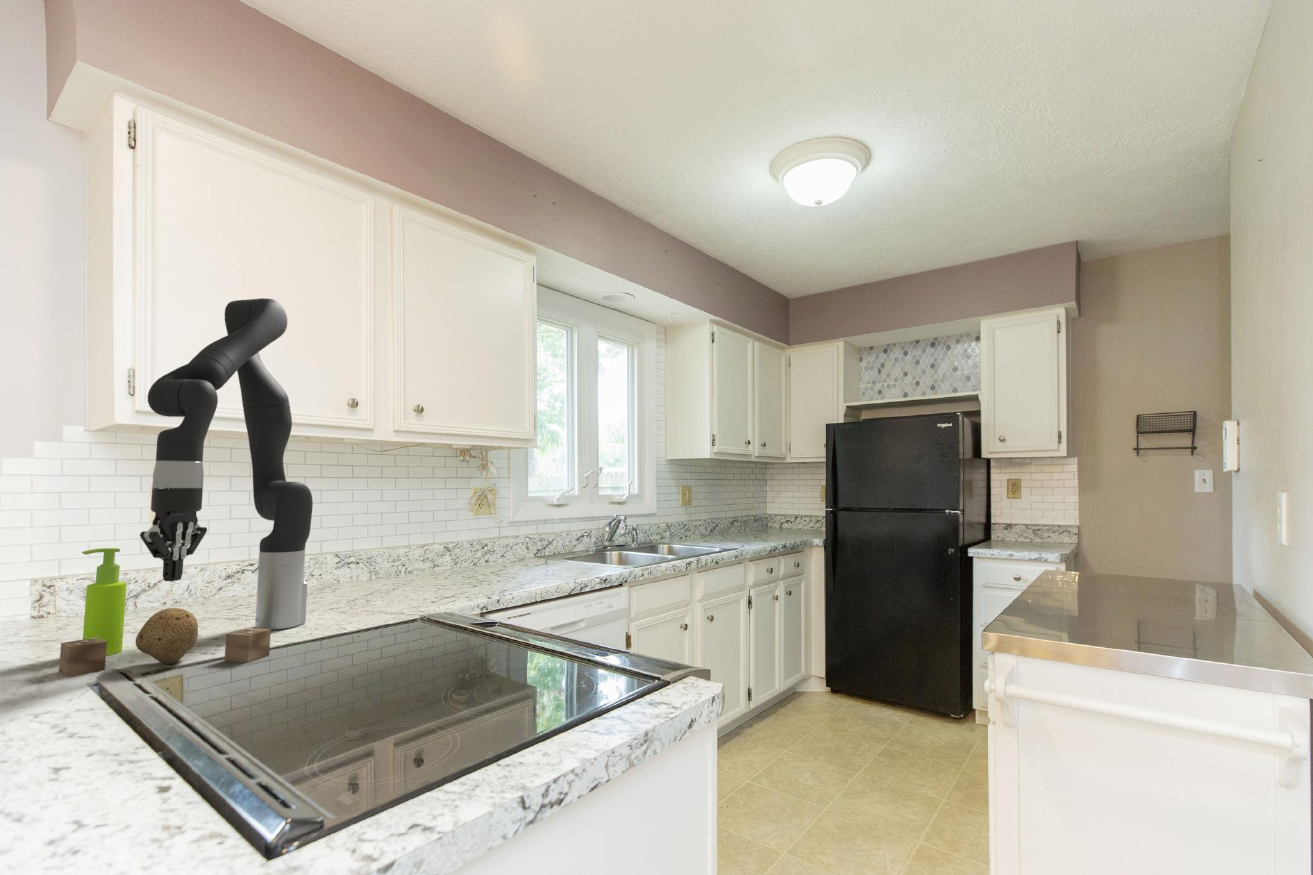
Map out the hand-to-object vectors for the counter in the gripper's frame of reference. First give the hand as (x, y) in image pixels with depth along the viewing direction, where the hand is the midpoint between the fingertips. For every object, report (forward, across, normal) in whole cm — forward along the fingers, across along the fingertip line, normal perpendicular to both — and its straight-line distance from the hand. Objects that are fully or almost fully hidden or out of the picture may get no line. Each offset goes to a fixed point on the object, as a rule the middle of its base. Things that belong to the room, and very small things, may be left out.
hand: (172, 580), depth 116 cm
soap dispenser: (+15, -5, -18) cm, 24 cm away
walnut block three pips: (+15, +5, -11) cm, 19 cm away
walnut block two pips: (+15, -5, +12) cm, 20 cm away
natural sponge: (+15, 0, 0) cm, 15 cm away
